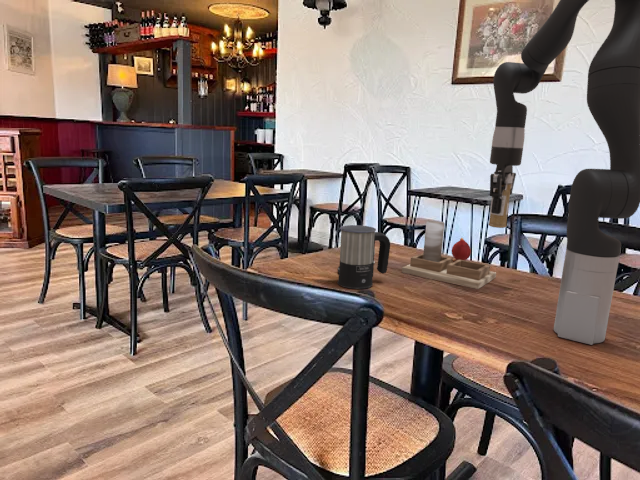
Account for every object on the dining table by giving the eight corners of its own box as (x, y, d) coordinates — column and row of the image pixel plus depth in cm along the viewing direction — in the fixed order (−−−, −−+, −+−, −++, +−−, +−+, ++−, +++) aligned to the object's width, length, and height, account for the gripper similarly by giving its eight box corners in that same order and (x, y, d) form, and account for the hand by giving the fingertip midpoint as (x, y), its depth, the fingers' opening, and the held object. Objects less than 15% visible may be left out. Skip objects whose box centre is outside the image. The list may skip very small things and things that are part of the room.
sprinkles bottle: (509, 227, 127) (516, 176, 124) (498, 228, 125) (505, 176, 122) (495, 224, 131) (501, 174, 128) (484, 225, 129) (490, 174, 126)
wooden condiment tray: (478, 289, 126) (484, 234, 124) (401, 272, 139) (406, 222, 136) (495, 277, 138) (501, 227, 135) (423, 263, 151) (428, 217, 148)
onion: (471, 262, 155) (474, 238, 153) (466, 266, 150) (469, 240, 148) (453, 259, 158) (456, 235, 156) (448, 262, 153) (450, 237, 151)
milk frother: (354, 292, 119) (358, 232, 116) (312, 276, 131) (315, 222, 128) (392, 283, 128) (397, 227, 125) (350, 269, 140) (354, 218, 137)
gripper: (514, 146, 116) (505, 217, 119) (530, 146, 127) (521, 211, 131) (483, 144, 120) (475, 213, 124) (501, 145, 131) (493, 208, 135)
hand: (498, 212), depth 127 cm, fingers closed on sprinkles bottle, 4 cm apart
